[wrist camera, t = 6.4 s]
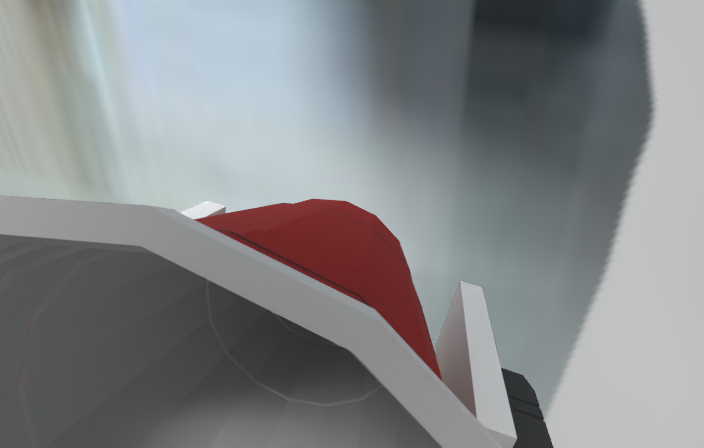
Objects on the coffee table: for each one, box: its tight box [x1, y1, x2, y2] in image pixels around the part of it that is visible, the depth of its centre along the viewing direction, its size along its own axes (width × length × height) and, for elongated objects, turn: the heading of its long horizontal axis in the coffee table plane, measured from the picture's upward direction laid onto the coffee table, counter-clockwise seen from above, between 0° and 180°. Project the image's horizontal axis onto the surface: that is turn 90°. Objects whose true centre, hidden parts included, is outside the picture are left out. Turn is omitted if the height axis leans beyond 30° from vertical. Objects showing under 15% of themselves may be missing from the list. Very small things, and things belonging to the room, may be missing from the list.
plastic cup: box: [0, 195, 503, 448], centre depth 10 cm, size 11×11×12 cm
